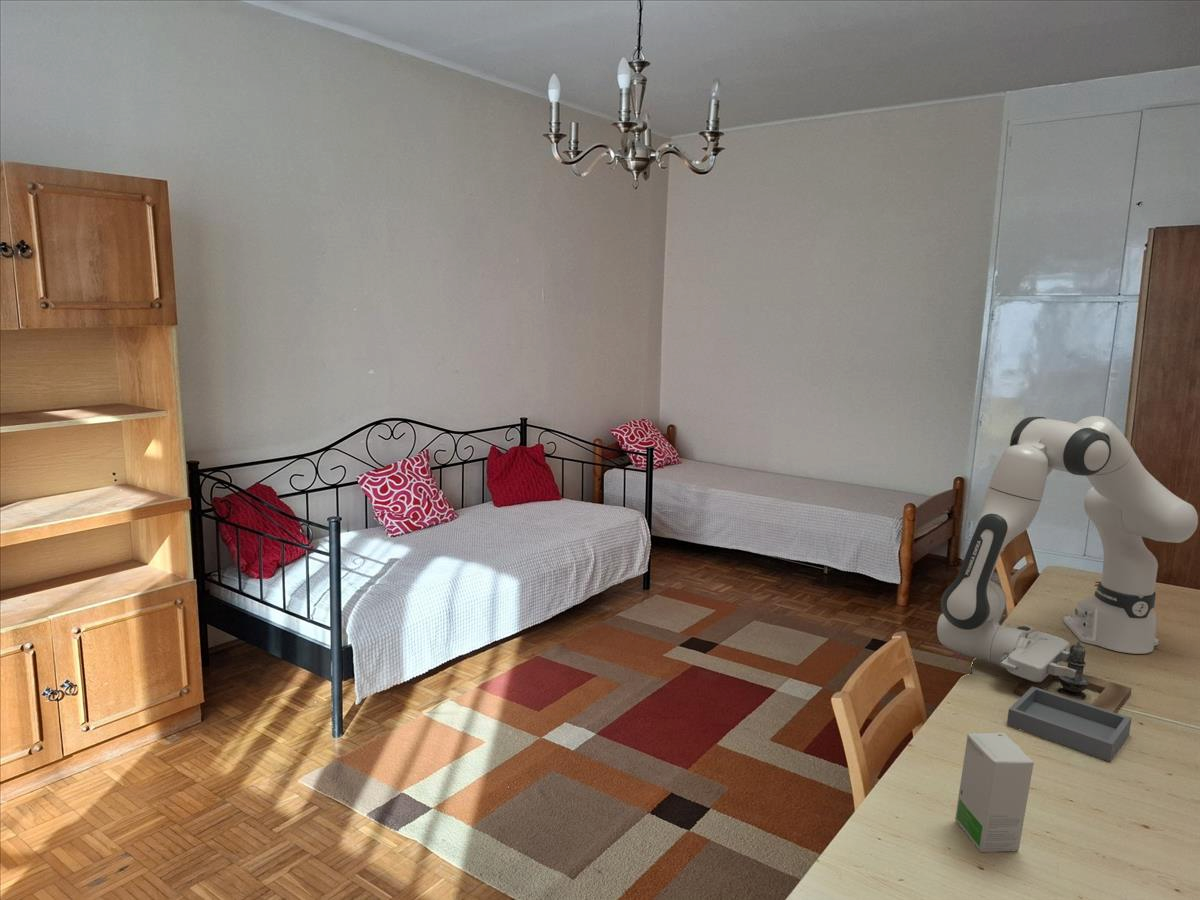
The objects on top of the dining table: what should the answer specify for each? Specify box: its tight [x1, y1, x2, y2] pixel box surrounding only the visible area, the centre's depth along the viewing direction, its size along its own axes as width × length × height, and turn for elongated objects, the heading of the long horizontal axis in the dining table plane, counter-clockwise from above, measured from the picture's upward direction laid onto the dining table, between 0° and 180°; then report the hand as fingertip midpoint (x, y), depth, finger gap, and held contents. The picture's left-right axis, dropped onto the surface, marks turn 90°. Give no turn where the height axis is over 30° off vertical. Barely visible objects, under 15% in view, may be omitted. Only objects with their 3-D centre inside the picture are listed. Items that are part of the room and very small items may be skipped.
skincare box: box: [954, 732, 1035, 853], centre depth 128 cm, size 8×7×16 cm
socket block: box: [1012, 673, 1132, 713], centre depth 178 cm, size 18×18×2 cm
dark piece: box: [1057, 640, 1090, 701], centre depth 177 cm, size 6×6×12 cm
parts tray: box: [1006, 686, 1133, 763], centre depth 162 cm, size 18×14×4 cm
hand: (1080, 668), depth 176 cm, fingers open, 5 cm apart
